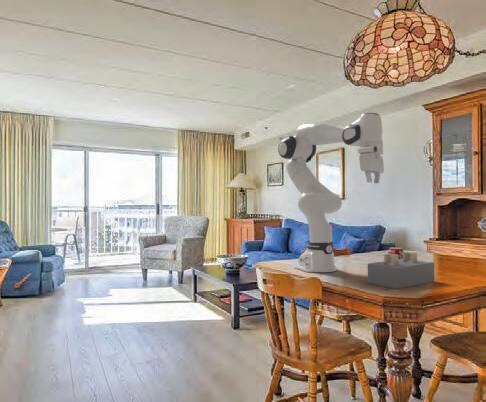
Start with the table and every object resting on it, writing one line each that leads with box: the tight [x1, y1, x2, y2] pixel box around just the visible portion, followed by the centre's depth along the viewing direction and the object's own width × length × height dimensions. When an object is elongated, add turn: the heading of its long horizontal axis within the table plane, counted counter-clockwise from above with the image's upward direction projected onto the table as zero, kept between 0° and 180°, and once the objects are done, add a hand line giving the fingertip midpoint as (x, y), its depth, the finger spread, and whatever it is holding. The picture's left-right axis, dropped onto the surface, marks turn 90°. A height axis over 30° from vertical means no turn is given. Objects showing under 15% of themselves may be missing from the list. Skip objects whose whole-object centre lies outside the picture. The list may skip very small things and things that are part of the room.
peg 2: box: [403, 251, 418, 263], centre depth 163 cm, size 4×4×7 cm
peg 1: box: [383, 253, 399, 266], centre depth 157 cm, size 4×4×7 cm
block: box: [367, 259, 435, 290], centre depth 160 cm, size 14×24×8 cm, turn 120°
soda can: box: [387, 246, 405, 259], centre depth 180 cm, size 7×7×12 cm
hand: (373, 182), depth 163 cm, fingers open, 8 cm apart
